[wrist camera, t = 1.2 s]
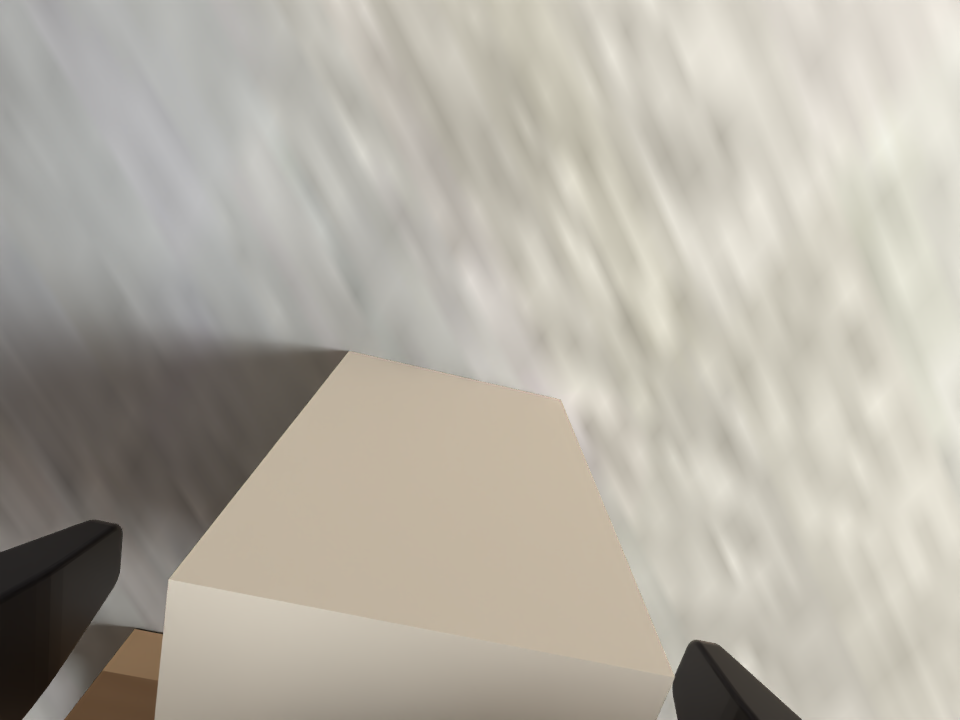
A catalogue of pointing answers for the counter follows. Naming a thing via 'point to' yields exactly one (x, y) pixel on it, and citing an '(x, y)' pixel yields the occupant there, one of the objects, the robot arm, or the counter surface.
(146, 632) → the board
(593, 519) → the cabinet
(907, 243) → the counter surface
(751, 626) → the counter surface
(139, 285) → the counter surface
